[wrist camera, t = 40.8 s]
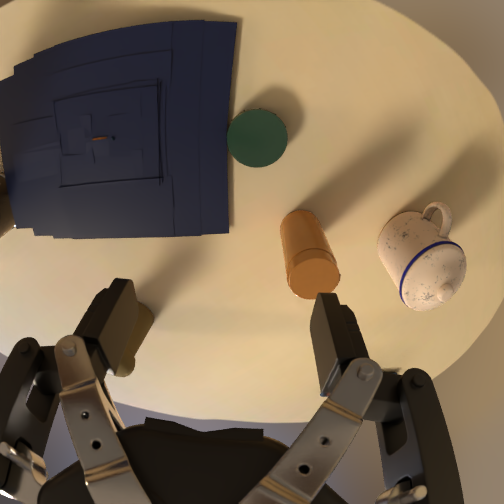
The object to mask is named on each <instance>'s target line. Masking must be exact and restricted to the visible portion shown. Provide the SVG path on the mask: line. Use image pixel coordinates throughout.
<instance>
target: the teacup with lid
mask: <svg viewBox="0 0 504 504" xmlns="http://www.w3.org/2000/svg"><path fill="white" fill-rule="evenodd" d="M436 209H440V210H441V212H442V216H443V221H442V226H441V228H440V229H439V228H438V227H437V226H436V225H435V224H433V223H432V222H431V221H430V219H431V216H432V214H433V212H434V211H435V210H436ZM451 225H452V214H451V211H450V209H449V207H448V206H447V205H446V204H444V203H441V202H432V203H430V204H429V205H428V206H427V207H426V208H425V210H424V212H423V214H421V213H419V212H414V211H410V212H404V213H401V214H399V215H397V216H395V217H394V218H393V219H391V220H390V221H389V222H388V223H387V224H386V226H385V227H384V228H383V230H382V232H381V234H380V236H379V239H378V246H377V249H378V255H379V258H380V260H381V261H382V263H383V265H384V266H385V268H386V269H387V271H388V273H389V274H390V276H391V278H392V279H393V281H394V283H395V285H396V286H397V288H398V290H399V292H400V297H401V299H402V301H403V302H404V303H405V304H406V305H407V306H408V307H410V308H411V309H414V310H417V311H428V310H432V309H435V308H437V307H439V306H441V305H442V304H444V303H445V302H447V301H448V300H449V299H451V297H452V296H453V295H454V294H455V293H456V292H457V290H458V289H459V287H460V286H461V284H462V282H463V280H464V277H465V274H466V268H467V264H466V257H465V255H464V252H463V250H462V248H461V247H460V246H459V245H458V244H456V243H454V242H452V241H451V240H450V239H449V238H448V234H449V232H450V229H451Z"/></svg>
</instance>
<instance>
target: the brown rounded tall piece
mask: <svg viewBox="0 0 504 504" xmlns="http://www.w3.org/2000/svg"><path fill="white" fill-rule="evenodd" d="M138 307H139V314H138V319H137V321H136V324H135V326H134V329H133V331H132V333H131V336H130V338H129V341H128V343H127V346H126V348H125V351H124V353H123V356H122V359H121V361H120V364H119V367H118V369H117V372H116V375H114V376H118V377H126V376H128V375H130V374H131V373H132V371H133V370H134V367H135V358H134V356H135V354H136V353H137V351H138V349H139V347H140V345H141V344H142V342H143V340H144V338H145V337H146V335H147V333H148V331H149V330H150V328H151V326H152V324H153V322H154V317H153V314H152V312H151V311H150V310H149V309H148V308H147V307H146V306H145V305H143V304H142V303H140V302H138Z"/></svg>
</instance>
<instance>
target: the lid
mask: <svg viewBox="0 0 504 504" xmlns="http://www.w3.org/2000/svg"><path fill="white" fill-rule="evenodd" d="M231 121H232V122H231V123H230V125H229V128H228V131H227V133H226V136H227V145H228V148H229V151H230V152H231V154H232V156H233V157H234V158H235V159H236V160H237V161H239V162H240V163H242V164H244V165H246V166H249V167H265V166H268V165H270V164H272V163H274V162H275V161H277V160H278V159H279V158H280V157H281V156H282V154H283V153H284V151H285V149H286V146H287V141H288V135H287V130H286V127H285V125H284V124H283V122H282V121H281V120H280V118H279V117H277V116H276V114H273V113H271V112H269V111H267V110H263V109H261V108H259V109H249V110H246V111H245V110H244V111H243V112H241V113H240V114H238V115H237V116H236V117H235V118H234V119H233V120H231Z"/></svg>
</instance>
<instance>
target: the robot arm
mask: <svg viewBox="0 0 504 504" xmlns="http://www.w3.org/2000/svg"><path fill="white" fill-rule="evenodd" d="M15 226H16V225H15V221H14V217H13V213H12V209H11V205H10V200H9V195H8V191H7V185H6V180H5V174H4V173H1V172H0V238H1V237H2V236H4V235H5V234H6V233H7V232H8V231H9V230H11V229H13V228H14V227H15ZM138 314H139V307H138V302H137V298H136V293H135V289H134V284H133V281H132V280H131V279H121V278H115V279H114V280H113V282H112V284H111V285H110V287H109V288H104V289H103V290H102V291H100V292H99V293H98V294H97V295H96V296H95V298H94V299H93V301H92V303H91V305H90V306H89V308H88V309H87V311H86V313H85V314H84V316H83V318H82V319H81V321H80V323H79V325H78V326H77V328H76V330H75V332H74V333H73V335H68V336H65V337H63V338H61V339H60V340H59V341H58V342H57V344H56V345H55V346H41V347H40V345H39V344H38V342H37V340H35V339H34V338H31V337H27V338H23V339H21V340H20V341H18V342H17V343H16V345H15V346H14V348H13V350H12V351H11V353H10V355H9V357H8V359H7V361H6V363H5V365H4V367H3V369H2V371H1V373H0V493H2V494H4V495H6V496H8V497H11V498H14V499H16V500H18V501H20V502H22V503H24V504H348V503H347V502H346V501H345V500H344V499H342V498H341V497H340V496H339V495H338V494H337V493H336V492H335V491H334V490H333V489H332V488H330V487H329V486H328V485H327V484H326V481H327V479H328V478H329V477H330V475H331V474H332V472H333V471H334V469H335V468H336V466H337V465H338V463H339V462H340V460H341V459H342V457H343V455H344V454H345V452H346V451H347V449H348V447H349V445H350V444H351V442H352V440H353V439H354V437H355V435H356V434H357V432H358V430H359V428H360V426H361V424H362V422H363V420H362V419H364V420H370V421H375V423H376V428H377V435H378V441H379V447H380V454H381V460H382V467H383V475H384V482H385V491H384V492H382V493H381V494H380V495H379V496H378V498H377V499H376V502H375V504H464V499H463V494H462V488H461V482H460V477H459V472H458V468H457V463H456V459H455V455H454V451H453V447H452V443H451V440H450V436H449V432H448V429H447V425H446V422H445V418H444V415H443V412H442V409H441V406H440V403H439V400H438V397H437V394H436V391H435V388H434V385H433V382H432V380H431V378H430V376H429V375H428V374H427V373H426V372H425V371H423V370H421V369H418V368H411V369H408V370H407V371H405V373H404V374H403V375H398V374H392V373H387V372H384V371H382V369H381V367H380V366H379V365H378V364H377V363H376V362H375V361H373V360H371V359H370V358H369V355H368V352H367V349H366V346H365V343H364V340H363V337H362V334H361V331H360V329H359V326H358V324H357V320H356V317H355V315H354V313H353V312H352V310H351V309H350V308H349V307H348V306H347V305H340V303H339V300H338V297H337V294H336V293H321V292H319V293H318V294H317V297H316V301H315V305H314V309H313V312H312V316H311V320H310V333H311V338H312V344H313V349H314V355H315V360H316V366H317V372H318V377H319V383H320V389H321V393H330V395H329V396H328V398H327V399H326V401H324V402H323V404H322V405H321V406H320V408H319V409H318V411H317V412H316V413H315V415H314V416H313V418H312V419H311V420H310V422H309V423H308V424H307V426H306V427H305V428H304V430H303V431H302V433H301V434H300V435H299V436H298V438H297V439H296V440H295V441H294V443H293V444H292V445H291V447H290V448H289V447H288V446H286V445H285V444H283V443H282V442H280V441H277V440H275V439H272V438H270V437H266V436H263V429H248V428H229V429H223V430H216V431H208V432H200V431H197V430H194V429H192V428H189V427H186V426H184V425H181V424H178V423H176V422H173V421H166V420H160V419H154V418H148V417H146V419H145V423H144V424H138V425H134V426H129V427H127V428H126V427H125V425H124V423H123V422H122V420H121V418H120V416H119V414H118V412H117V410H116V407H115V405H114V403H113V400H112V398H111V396H110V393H109V391H108V388H107V386H106V383H105V381H104V378H105V376H106V374H110V375H116V372H117V369H118V367H119V364H120V361H121V359H122V356H123V353H124V351H125V348H126V346H127V343H128V341H129V338H130V336H131V333H132V331H133V329H134V326H135V324H136V321H137V319H138ZM32 383H33V384H34V386H33V388H32V390H31V393H30V395H29V398H28V401H27V403H26V397H27V395H28V392H29V390H30V387H31V385H32ZM59 402H61V406H62V409H63V413H64V417H65V420H66V423H67V427H68V430H69V433H70V436H71V439H72V442H73V445H74V448H75V450H76V453H77V456H78V458H79V460H78V461H76V462H75V463H73V464H72V465H70V466H69V467H67V468H66V469H64V470H63V471H61V472H60V473H58V474H57V475H55V476H54V477H52V478H51V479H49V480H48V481H47V478H48V472H47V470H46V465H45V462H44V460H43V455H44V451H45V447H46V444H47V440H48V437H49V433H50V430H51V427H52V423H53V420H54V417H55V414H56V411H57V408H58V405H59Z"/></svg>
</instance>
